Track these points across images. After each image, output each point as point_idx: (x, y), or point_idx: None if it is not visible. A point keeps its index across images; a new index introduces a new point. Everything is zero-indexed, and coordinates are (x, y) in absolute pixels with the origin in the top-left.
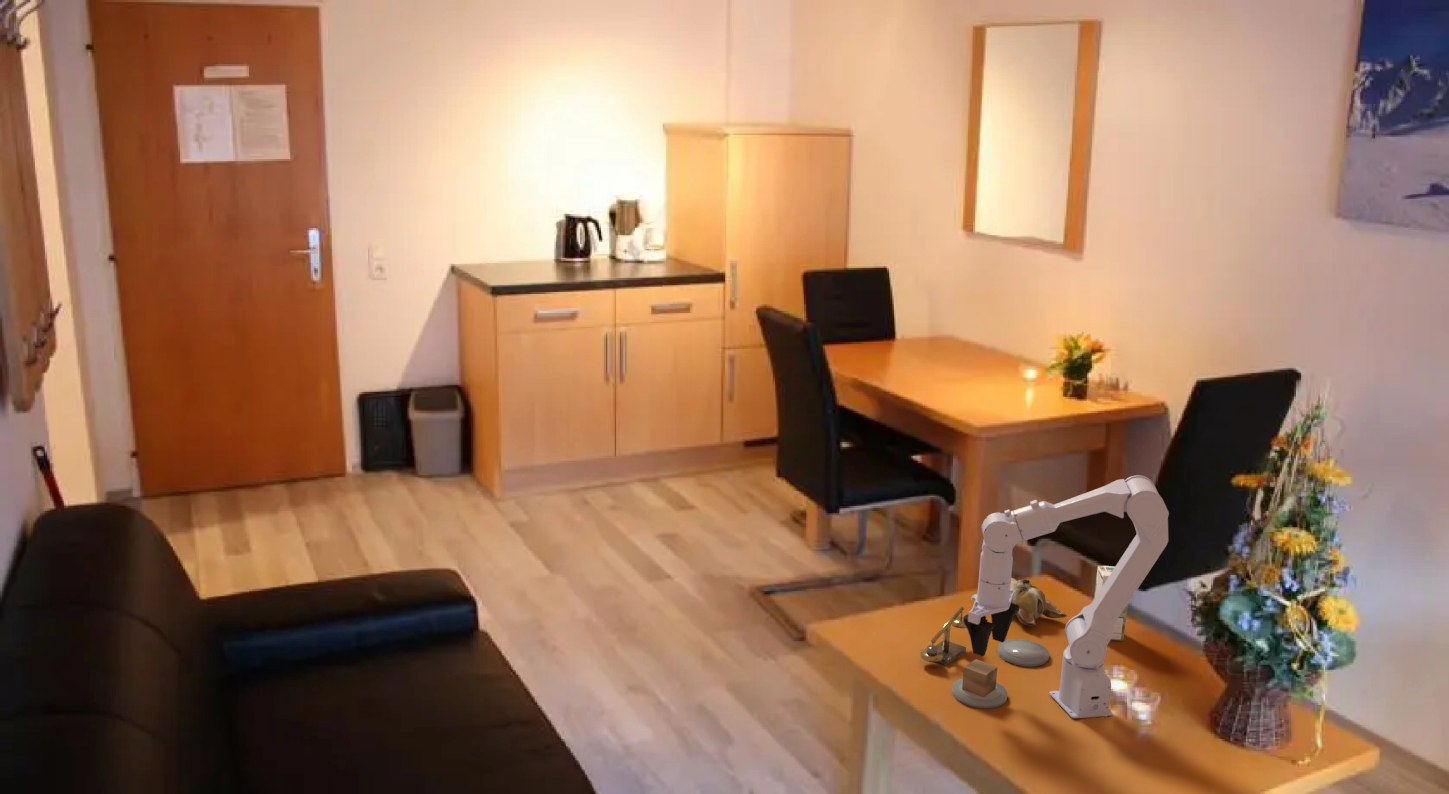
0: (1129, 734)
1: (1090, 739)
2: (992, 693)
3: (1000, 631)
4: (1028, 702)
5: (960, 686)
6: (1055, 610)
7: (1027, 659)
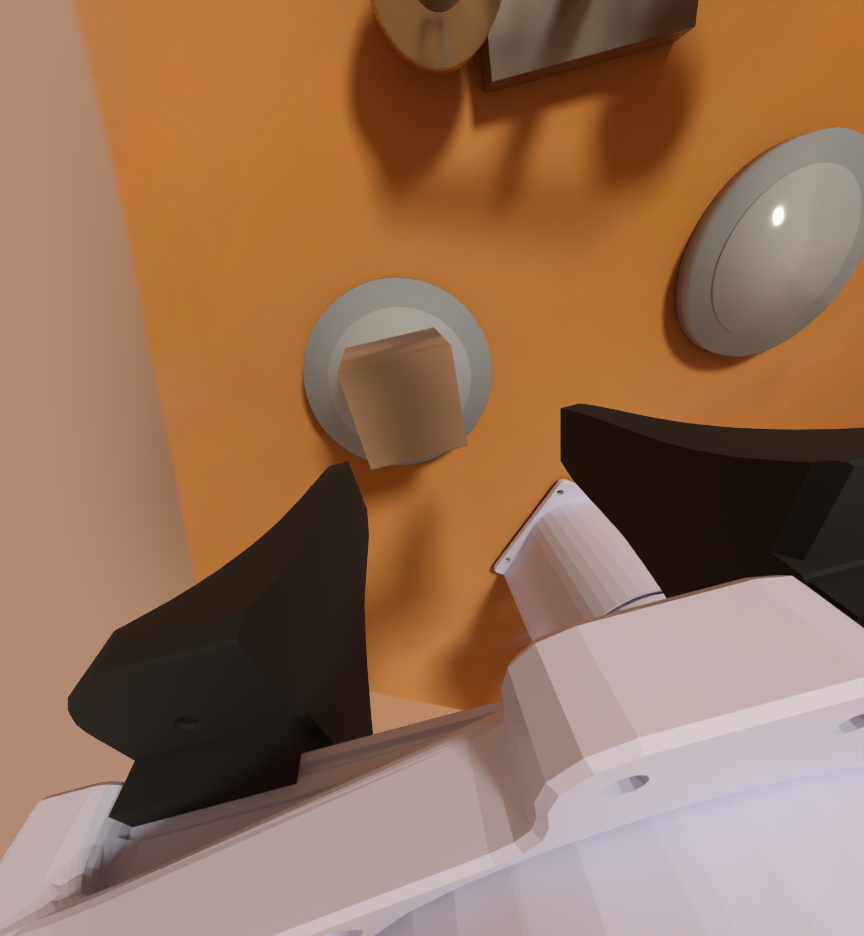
0: (522, 626)
1: (451, 616)
2: None
3: (595, 473)
4: (482, 478)
5: (355, 328)
6: None
7: (713, 323)
